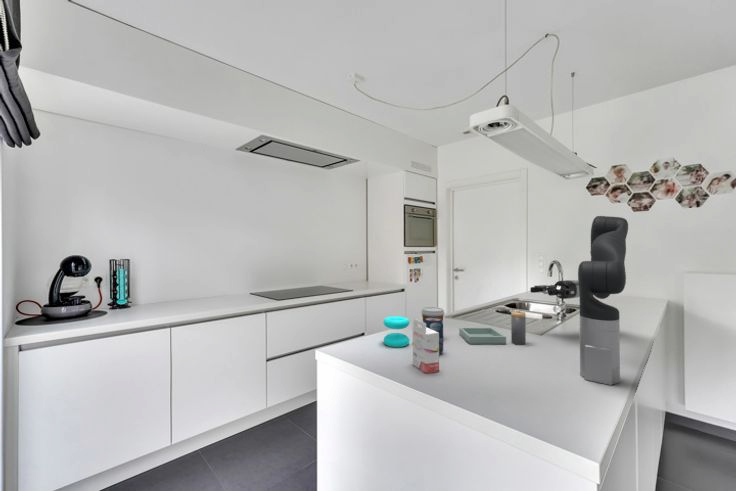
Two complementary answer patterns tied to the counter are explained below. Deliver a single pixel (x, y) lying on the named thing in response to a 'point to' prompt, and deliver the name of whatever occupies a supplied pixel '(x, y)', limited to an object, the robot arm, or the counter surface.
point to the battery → (518, 328)
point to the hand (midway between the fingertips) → (539, 291)
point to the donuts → (396, 338)
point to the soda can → (436, 329)
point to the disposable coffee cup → (432, 313)
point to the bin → (482, 336)
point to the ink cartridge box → (425, 347)
